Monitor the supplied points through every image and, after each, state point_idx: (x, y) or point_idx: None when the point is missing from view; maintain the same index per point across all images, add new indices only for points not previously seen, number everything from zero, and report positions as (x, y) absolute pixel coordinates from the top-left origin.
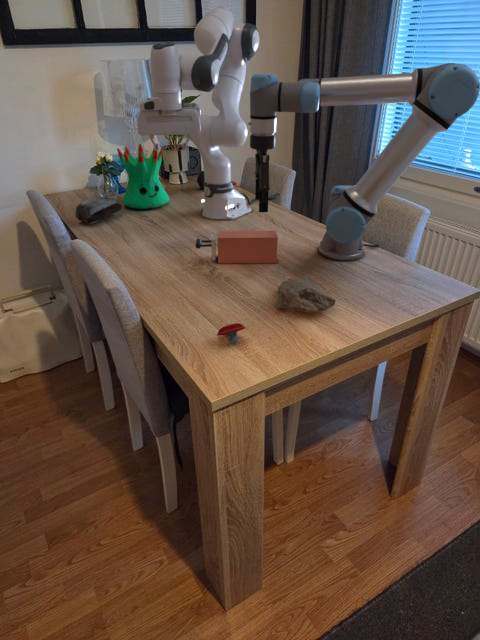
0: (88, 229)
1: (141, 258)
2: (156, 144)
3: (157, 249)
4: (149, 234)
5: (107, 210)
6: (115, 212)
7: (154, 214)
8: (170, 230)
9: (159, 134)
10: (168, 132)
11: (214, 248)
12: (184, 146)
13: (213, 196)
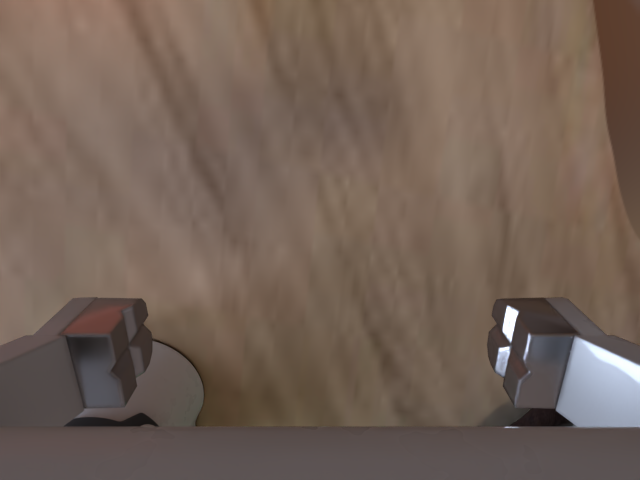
0: (609, 333)
1: (474, 4)
2: (560, 334)
3: (400, 88)
4: (410, 247)
5: (549, 416)
6: (511, 425)
7: (369, 424)
8: (330, 271)
9: (613, 427)
10: (368, 461)
11: None
12: (103, 311)
13: (128, 413)
